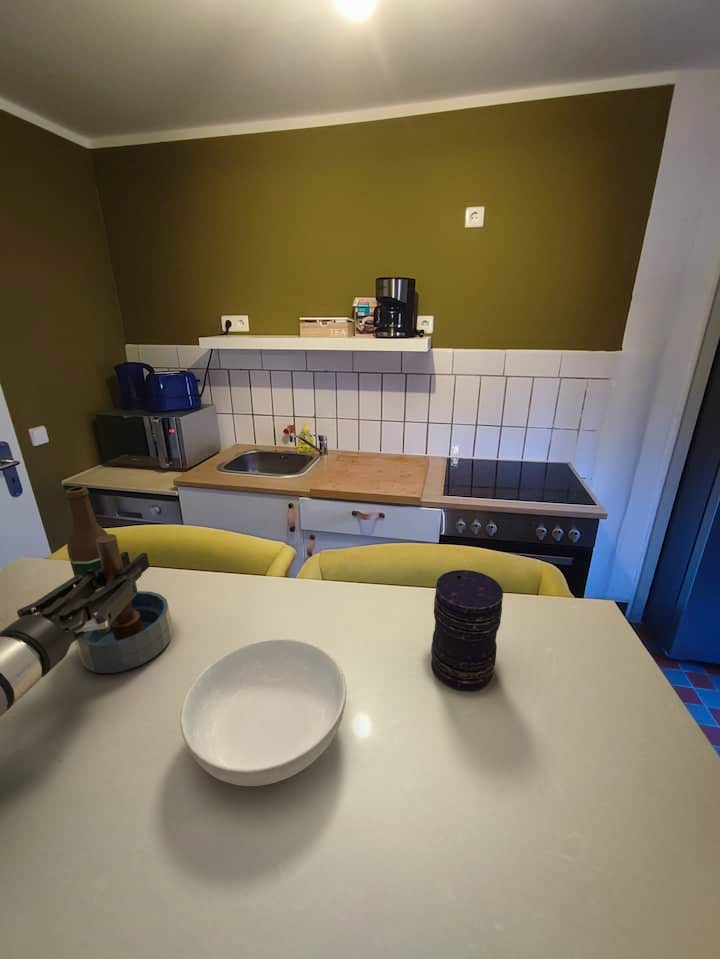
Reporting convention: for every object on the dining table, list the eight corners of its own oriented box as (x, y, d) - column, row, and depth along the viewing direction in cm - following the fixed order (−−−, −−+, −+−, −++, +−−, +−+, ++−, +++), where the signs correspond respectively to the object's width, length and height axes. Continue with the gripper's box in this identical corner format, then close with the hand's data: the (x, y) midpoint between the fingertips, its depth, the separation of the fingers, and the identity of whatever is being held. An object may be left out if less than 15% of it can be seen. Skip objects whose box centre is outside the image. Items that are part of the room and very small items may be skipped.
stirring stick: (107, 637, 71) (82, 542, 65) (130, 621, 75) (108, 529, 69) (127, 644, 70) (103, 547, 64) (148, 627, 74) (128, 534, 67)
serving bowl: (368, 692, 64) (367, 655, 61) (304, 843, 45) (300, 799, 43) (248, 658, 70) (244, 623, 68) (150, 778, 52) (139, 736, 50)
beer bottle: (124, 606, 84) (96, 492, 75) (78, 616, 81) (44, 499, 73) (128, 585, 91) (103, 479, 82) (86, 593, 88) (56, 484, 80)
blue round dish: (62, 661, 70) (52, 631, 68) (133, 611, 82) (127, 584, 80) (123, 686, 65) (115, 655, 63) (190, 629, 77) (185, 601, 75)
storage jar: (506, 684, 65) (518, 601, 60) (448, 699, 62) (455, 614, 57) (472, 640, 74) (480, 565, 69) (420, 652, 71) (424, 575, 66)
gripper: (-30, 676, 54) (99, 575, 76) (83, 688, 52) (183, 580, 74) (-50, 628, 52) (89, 537, 74) (68, 638, 50) (176, 542, 72)
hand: (136, 559), depth 74 cm, fingers closed on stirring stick, 3 cm apart
